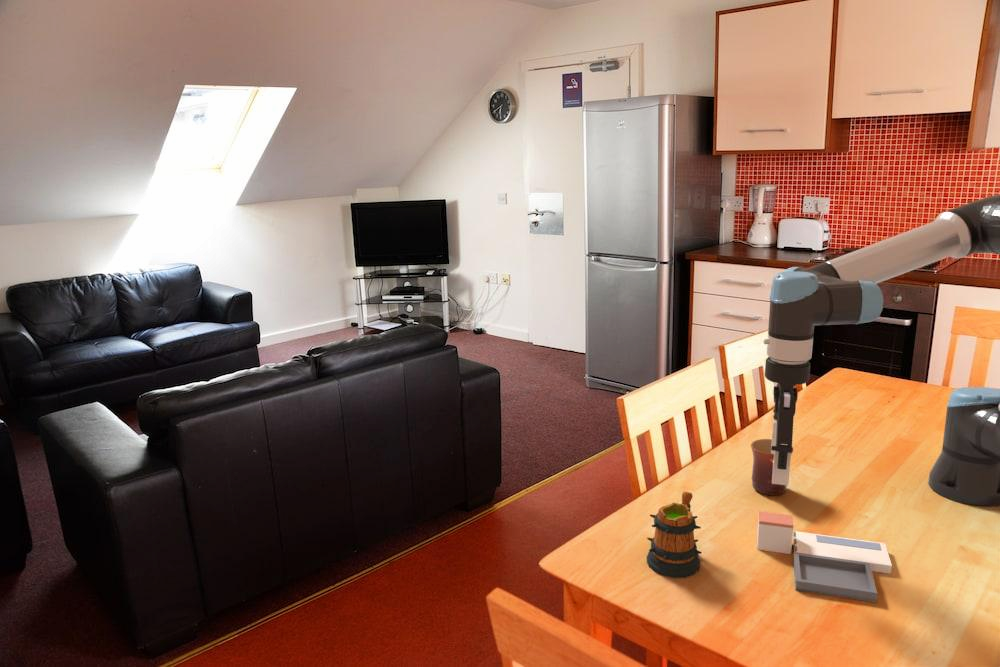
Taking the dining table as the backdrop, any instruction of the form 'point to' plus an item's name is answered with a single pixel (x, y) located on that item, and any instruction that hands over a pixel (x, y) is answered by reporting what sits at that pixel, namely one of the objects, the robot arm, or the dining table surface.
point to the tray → (834, 577)
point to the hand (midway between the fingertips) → (779, 468)
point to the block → (775, 532)
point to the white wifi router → (844, 549)
